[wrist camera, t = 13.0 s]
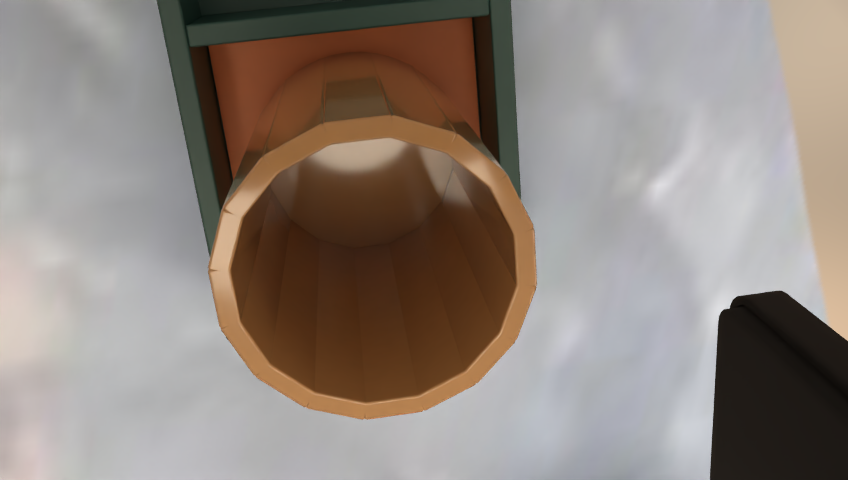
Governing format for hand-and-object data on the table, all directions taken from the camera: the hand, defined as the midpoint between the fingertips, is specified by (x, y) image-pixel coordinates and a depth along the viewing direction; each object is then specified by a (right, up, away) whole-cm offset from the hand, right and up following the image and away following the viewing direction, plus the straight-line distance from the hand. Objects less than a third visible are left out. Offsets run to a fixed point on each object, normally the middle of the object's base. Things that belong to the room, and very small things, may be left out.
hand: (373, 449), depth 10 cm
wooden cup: (-1, +5, +16) cm, 17 cm away
